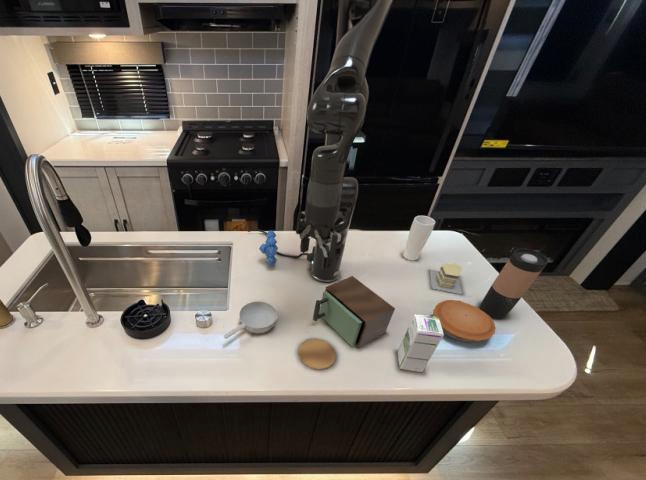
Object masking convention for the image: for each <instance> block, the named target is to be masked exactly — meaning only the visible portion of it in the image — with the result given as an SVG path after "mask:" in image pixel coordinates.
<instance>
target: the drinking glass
mask: <svg viewBox="0 0 646 480" xmlns="http://www.w3.org/2000/svg"><path fill="white" fill-rule="evenodd" d="M435 224H436V220H435V219H433V218H432V217H430V216H427V215H417V216H415V217H414V218H413V221H412V223H411V226H410V228H409V233H408V236H407V240H406V243H405V247H404V251H403V253H402V256H403V258H405V260H408V261H417V260H418V259H419V258H420V255H421V254H422V251H423V250H424V247H425V246H426V244H427V242H428V240H429V238H430V237H431V234H432V232H433V230H434V227H435Z"/></svg>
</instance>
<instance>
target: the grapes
mask: <svg viewBox="0 0 646 480" xmlns="http://www.w3.org/2000/svg"><path fill="white" fill-rule="evenodd" d="M265 235H266V237H267V238H266V240H265V242H264V243H262V244H261V245H260V246H259V248H258V249H259V251H260V252H261V253H262V254H265V256H266V260H267V261H266V264H267V265H268V266H269V267H270V268H272V267H274V266H275V265H276V264H277V261H278V259H277V257H276V255H277V254H276V253H277V252H278V249H279V247H278V246H277V242H278V241H277V240H276V236H277V234H276V233H275V232H274V230H271V229H270V230H268V231H267V234H265Z"/></svg>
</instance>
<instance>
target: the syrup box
mask: <svg viewBox="0 0 646 480" xmlns="http://www.w3.org/2000/svg"><path fill="white" fill-rule="evenodd" d="M444 335H445V334H444V333H443V330H442V327H441V323H440V320H439V317H434V315H427V314H415V313H414V314H413V316H412V318H411V321H410V322H409V325H408V327H407V330H406V331H405V334H404V336H403V338H402V340H401V342H400V345H399V347H398V349H397V351H396V354H397V359H398V367H399V369H400V370H404V371H405V370H406V371H411V372H418V373H423V372H424V370H425V368H426V367H427V365H428V364H429V361H430V360H431V358H432V357H433V355H434V353H435V351H436V349H437V348H438V346H439V344H440V343H441V341H442V340H443V338H444Z"/></svg>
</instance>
